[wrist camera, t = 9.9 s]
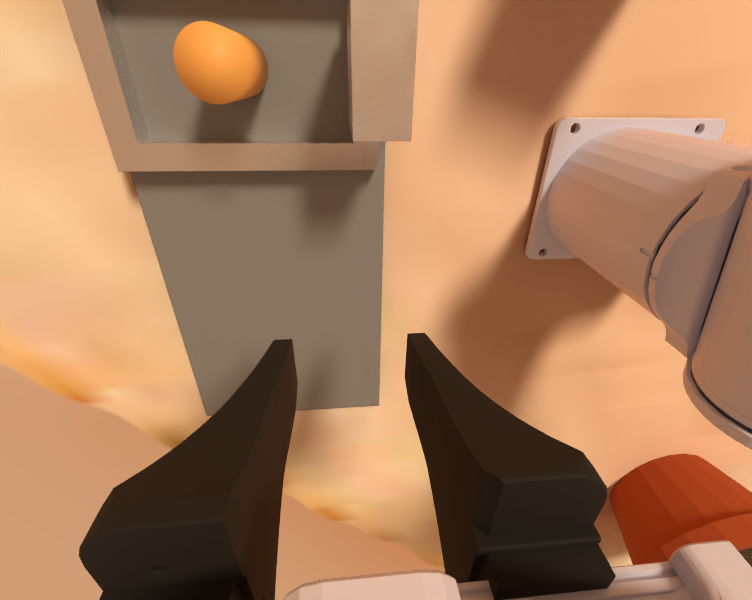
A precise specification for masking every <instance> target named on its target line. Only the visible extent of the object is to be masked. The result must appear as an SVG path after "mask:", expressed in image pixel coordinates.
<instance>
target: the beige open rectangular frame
mask: <svg viewBox="0 0 752 600" xmlns="http://www.w3.org/2000/svg"><path fill="white" fill-rule="evenodd" d="M62 1H63V4H64V8H65V11H66V14H67V17H68V20H69V23H70V26H71V29H72V32H73V35H74V38H75V41H76V44H77V47H78V50H79V53H80V56H81V59H82V62H83V65H84V68H85V71H86V74H87V77H88V80H89V83H90V87H91V90H92V93H93V96H94V99H95V102H96V105H97V108H98V111H99V114H100V117H101V120H102V123H103V126H104V129H105V132H106V135H107V138H108V141H109V144H110V147H111V150H112V153H113V156H114V159H115V162H116V166H117V169H118V172H128V171H280V170H379V141H411V133H412V115H413V97H414V79H415V61H416V43H417V26H418V8H419V0H349V2H348V9H347V56H348V100H349V126H350V131H351V135H352V139H149V137H148V133H147V130H146V126H145V122H144V119H143V115H142V112H141V108H140V104H139V101H138V97H137V94H136V90H135V86H134V83H133V79H132V75H131V72H130V68H129V65H128V61H127V57H126V54H125V50H124V47H123V43H122V39H121V36H120V32H119V28H118V25H117V21H116V18H115V14H114V10H113V7H112V3H111V0H62Z"/></svg>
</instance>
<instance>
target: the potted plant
mask: <svg viewBox="0 0 752 600" xmlns="http://www.w3.org/2000/svg"><path fill="white" fill-rule="evenodd" d="M611 504H612V507H613V510H614V512H615V515H616V518H617V521H618V524H619V527H620V529H621V532H622V535H623V538H624V541H625V544H626V546H627V549H628V552H629V555H630V558H631V561H632V563H633V565H638V564H648V563H658V562H667V561H669V559H670V557H671V555H672V554H673V553H674V551H675V550H677V549H678V548H679V547H681V546H684V545H686V544H691V543H700V542H710V541H720V540H727V541H730V542H731V543H732V545H733V546H734V547H735V548H736V549H737V550H738V552H739V553H740V554H741V555H742V556H743V558H744V559H745V560H746V561H747V562H748V563H749V565H750V566H751V567H752V492H750V491H749V490H748V489H746V488H745V487H743V486H742V485H740V484H739V483H737V482H736V481H735V480H733V479H732V478H730V477H729V476H727V475H726V474H724V473H723V472H722V471H720V470H719V469H717V468H716V467H714V466H713V465H712V464H710V463H709V462H707V461H706V460H704V459H702V458H701V457H699V456H696V455H689V454H680V455H670V456H666V457H663V458H659V459H655V460H652V461H650V462H648V463H646V464H644V465H642V466H639V467H637V468H636V469H634V470H633V471H631V472H630V473H628V474H627V475H626V476H624V477H623V478H622V479H621V480H620V481H619V482H618V483H617V484H616V486H615V487H614V489H613V491H612V493H611Z"/></svg>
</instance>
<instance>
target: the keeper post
mask: <svg viewBox="0 0 752 600" xmlns="http://www.w3.org/2000/svg"><path fill="white" fill-rule="evenodd" d="M173 56H174V64H175V67H176V71H177V73H178V75H179V77H180V79H181V81H182V82H183V84H184V85H185V87H186V88H187V89H188V90H189V91H190V92H191V93H192V94H193V95H195V96H196V97H197V98H199V99H201V100H203V101H205V102H207V103H211V104H226V103H230V102H234V101H238V100H241V99H245V98H249V97H252V96H255V95H257V94H258V93H259V92H261V91H262V89H263V88H264V87H265V85H266V82H267V79H268V63H267V60H266V57H265V55H264V53H263V51H262V49H261V48H260V47H259V46H258V44H257V43H256V42H255V41H253V40H252V39H251V38H249V37H247V36H245V35H242V34H240V33H237V32H235V31H233V30H230V29H228V28H225V27H223V26H221V25H218V24H216V23H213V22H209V21H197V22H193V23H191V24H189V25H187V26H185V27H184V28H183V29H182V30H181V32H180V33H179V34H178V36H177V38H176V41H175V44H174V52H173Z"/></svg>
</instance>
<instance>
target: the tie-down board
mask: <svg viewBox="0 0 752 600" xmlns="http://www.w3.org/2000/svg"><path fill="white" fill-rule="evenodd" d="M348 2H349V0H111V3H112V7H113V10H114V14H115V18H116V21H117V25H118V28H119V32H120V36H121V39H122V43H123V47H124V50H125V54H126V57H127V61H128V65H129V68H130V72H131V75H132V79H133V83H134V86H135V90H136V94H137V97H138V101H139V104H140V108H141V112H142V115H143V119H144V122H145V126H146V130H147V133H148V137H149V139H352V135H351V131H350V126H349V100H348V56H347V9H348ZM197 21H209V22H213V23H216V24H218V25H221V26H223V27H225V28H228V29H230V30H233V31H235V32H237V33H240V34H242V35H245V36H247V37H249V38H251V39H252V40H253V41H255V42H256V43H257V44H258V46H259V47H260V48H261V49H262V51H263V53H264V55H265V57H266V60H267V63H268V79H267V82H266V85H265V87H264V88H263V89H262V91H261V92H259V93H258V94H257V95H255V96H252V97H249V98H245V99H241V100H238V101H234V102H230V103H226V104H211V103H207V102H205V101H203V100H201V99H199V98H197V97H196V96H195V95H193V94H192V93H191V92H190V91H189V90H188V89H187V88H186V87H185V85H184V84H183V82H182V81H181V79H180V77H179V75H178V73H177V71H176V67H175V64H174V56H173V52H174V44H175V41H176V38H177V36H178V34H179V33H180V32H181V30H182V29H183V28H184V27H185V26H187V25H189V24H191V23H193V22H197ZM384 168H385V141H379V170H280V171H130V172H131V175H132V178H133V182H134V185H135V188H136V191H137V194H138V198H139V201H140V204H141V207H142V210H143V214H144V217H145V220H146V223H147V226H148V230H149V233H150V236H151V239H152V242H153V245H154V249H155V252H156V255H157V258H158V261H159V265H160V268H161V271H162V274H163V277H164V281H165V284H166V287H167V290H168V293H169V297H170V300H171V303H172V306H173V309H174V312H175V316H176V319H177V322H178V325H179V328H180V332H181V335H182V338H183V341H184V344H185V348H186V351H187V354H188V357H189V360H190V364H191V367H192V370H193V373H194V376H195V379H196V383H197V386H198V389H199V392H200V395H201V399H202V402H203V405H204V408H205V411H206V415H207V416H208V415H214V414H215V413H216V412H217V411H218V410H219V409H220V408H221V407H222V406H223V405H224V404H225V403H226V402H227V401H228V399H229V398H230V397H231V396H232V395H233V394H234V393H235V391H236V390H237V389H238V388H239V387H240V386H241V384H242V383H243V382H244V381H245V380H246V378H247V377H248V376H249V374H250V373H251V372H252V370H253V369H254V368H255V366H256V365H257V364H258V362H259V361H260V360H261V358H262V357H263V355H264V354H265V352H266V351H267V349H268V348H269V346H270V345H271V343H272V342H273V341H274V340H281V339H292V341H293V349H294V357H295V365H296V373H297V381H298V386H297V402H296V410H311V409H329V408H346V407H363V406H379V385H380V342H381V298H382V255H383V211H384Z"/></svg>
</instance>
